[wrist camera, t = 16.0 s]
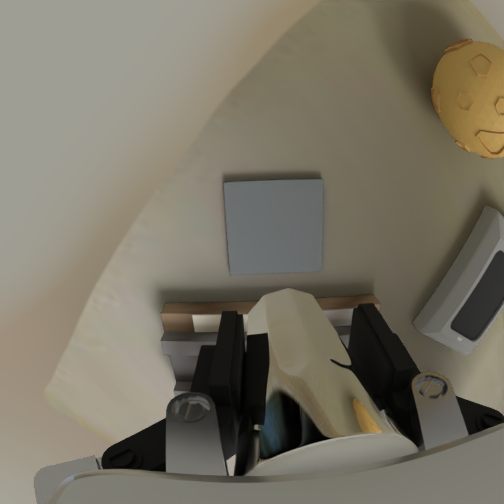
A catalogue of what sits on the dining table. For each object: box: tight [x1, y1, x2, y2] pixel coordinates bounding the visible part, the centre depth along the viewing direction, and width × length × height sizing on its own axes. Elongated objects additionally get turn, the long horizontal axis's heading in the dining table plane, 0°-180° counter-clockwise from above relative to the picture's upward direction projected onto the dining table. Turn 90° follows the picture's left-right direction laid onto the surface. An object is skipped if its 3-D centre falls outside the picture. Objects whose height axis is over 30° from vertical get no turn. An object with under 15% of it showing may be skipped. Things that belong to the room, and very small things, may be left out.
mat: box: [224, 179, 323, 275], centre depth 26 cm, size 8×8×1 cm
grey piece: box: [161, 294, 381, 397], centre depth 29 cm, size 20×12×4 cm, turn 93°
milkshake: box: [234, 288, 419, 476], centre depth 8 cm, size 4×5×10 cm
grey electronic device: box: [412, 206, 504, 356], centre depth 27 cm, size 10×4×15 cm
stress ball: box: [431, 39, 504, 159], centre depth 17 cm, size 10×10×10 cm
